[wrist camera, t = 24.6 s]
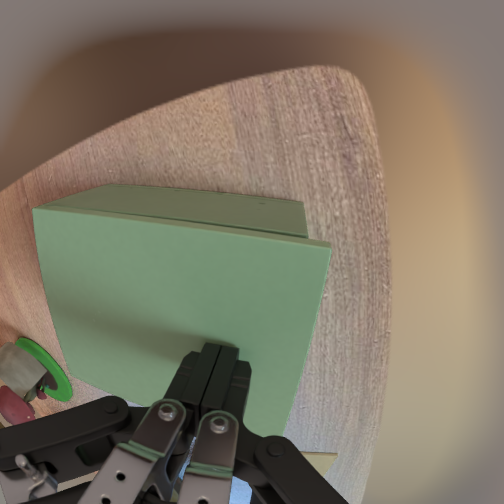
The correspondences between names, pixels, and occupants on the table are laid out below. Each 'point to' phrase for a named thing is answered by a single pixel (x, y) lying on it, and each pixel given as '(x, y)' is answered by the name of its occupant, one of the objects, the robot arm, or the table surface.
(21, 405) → the mushroom figurine
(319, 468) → the mat
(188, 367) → the robot arm
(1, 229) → the table surface
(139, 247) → the box lid
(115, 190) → the green open box
